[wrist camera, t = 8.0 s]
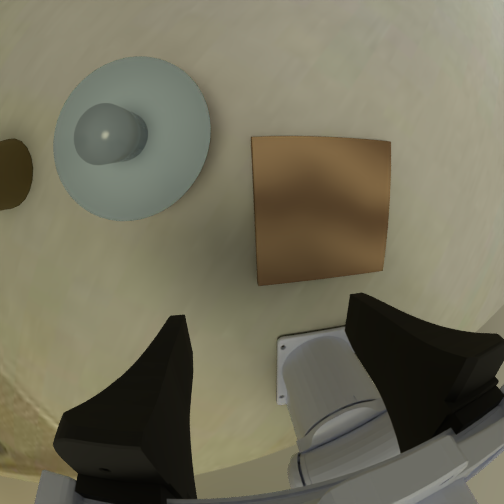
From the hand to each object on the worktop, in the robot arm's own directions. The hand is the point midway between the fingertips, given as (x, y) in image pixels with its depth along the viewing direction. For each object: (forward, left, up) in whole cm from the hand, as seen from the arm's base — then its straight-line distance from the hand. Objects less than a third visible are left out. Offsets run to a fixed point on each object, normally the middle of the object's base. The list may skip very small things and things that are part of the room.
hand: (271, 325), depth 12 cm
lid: (+9, +7, -7) cm, 13 cm away
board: (+2, -6, -10) cm, 12 cm away
